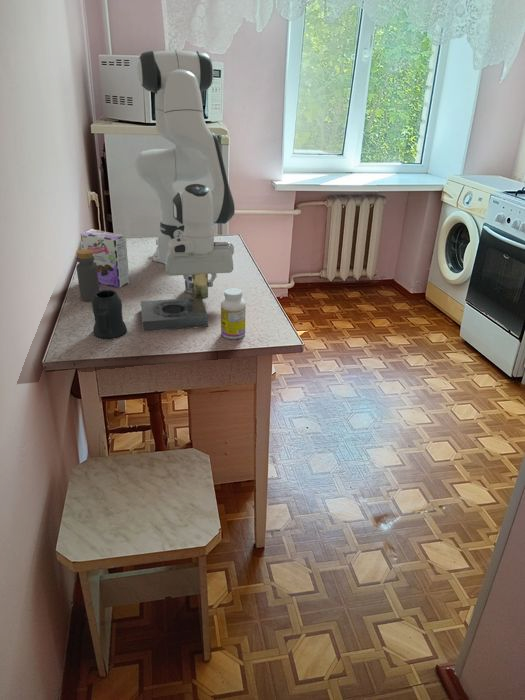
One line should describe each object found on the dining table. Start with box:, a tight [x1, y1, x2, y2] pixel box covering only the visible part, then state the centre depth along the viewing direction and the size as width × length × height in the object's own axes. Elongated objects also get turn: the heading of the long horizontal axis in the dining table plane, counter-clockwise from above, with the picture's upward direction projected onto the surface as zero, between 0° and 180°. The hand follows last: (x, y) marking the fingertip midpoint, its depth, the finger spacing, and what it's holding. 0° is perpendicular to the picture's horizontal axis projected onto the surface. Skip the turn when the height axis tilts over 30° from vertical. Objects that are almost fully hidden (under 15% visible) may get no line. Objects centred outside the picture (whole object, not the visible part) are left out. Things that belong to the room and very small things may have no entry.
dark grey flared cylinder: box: [91, 289, 128, 340], centre depth 141 cm, size 12×9×11 cm
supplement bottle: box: [220, 287, 247, 340], centre depth 143 cm, size 7×7×13 cm
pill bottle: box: [184, 275, 192, 294], centre depth 170 cm, size 5×5×9 cm
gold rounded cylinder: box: [191, 274, 209, 300], centre depth 162 cm, size 5×5×8 cm
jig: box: [140, 297, 209, 332], centre depth 153 cm, size 14×18×3 cm
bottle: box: [75, 248, 101, 303], centre depth 161 cm, size 6×6×15 cm
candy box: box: [80, 228, 131, 289], centre depth 173 cm, size 14×6×16 cm, turn 65°
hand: (200, 286), depth 162 cm, fingers closed on gold rounded cylinder, 5 cm apart
